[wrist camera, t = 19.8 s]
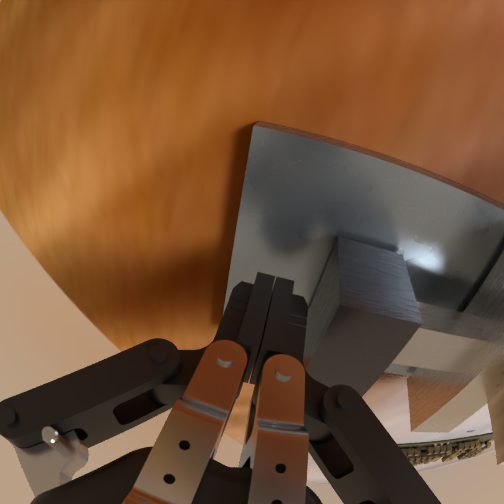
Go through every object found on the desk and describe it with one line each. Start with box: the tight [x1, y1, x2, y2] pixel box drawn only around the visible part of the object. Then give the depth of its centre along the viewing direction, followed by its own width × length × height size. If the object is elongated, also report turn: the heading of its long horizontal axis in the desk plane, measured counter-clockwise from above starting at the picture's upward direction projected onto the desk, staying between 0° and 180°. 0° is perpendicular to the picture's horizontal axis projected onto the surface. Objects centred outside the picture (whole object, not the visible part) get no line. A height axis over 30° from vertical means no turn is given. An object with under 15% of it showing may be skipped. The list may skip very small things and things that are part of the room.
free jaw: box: [303, 236, 504, 432], centre depth 12 cm, size 12×11×4 cm
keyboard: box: [397, 430, 494, 466], centre depth 26 cm, size 22×9×2 cm, turn 94°
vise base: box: [223, 121, 504, 376], centre depth 12 cm, size 12×25×5 cm, turn 81°
